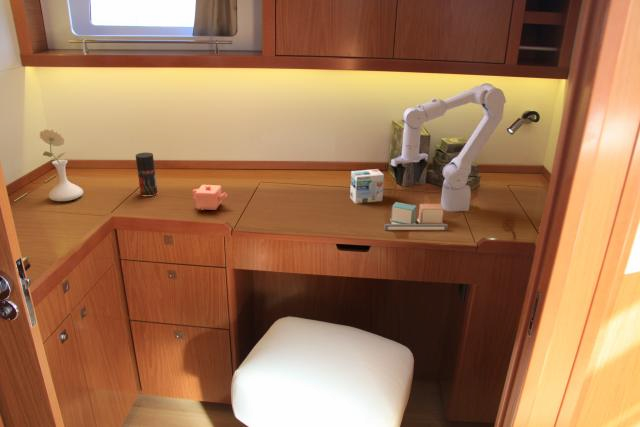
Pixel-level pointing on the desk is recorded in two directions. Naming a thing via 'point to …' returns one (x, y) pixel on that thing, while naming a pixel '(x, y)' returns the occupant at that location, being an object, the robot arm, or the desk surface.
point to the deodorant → (146, 173)
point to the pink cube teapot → (208, 197)
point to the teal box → (403, 213)
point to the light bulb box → (366, 186)
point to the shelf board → (415, 226)
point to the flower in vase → (60, 170)
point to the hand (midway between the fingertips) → (407, 182)
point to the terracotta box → (431, 213)
